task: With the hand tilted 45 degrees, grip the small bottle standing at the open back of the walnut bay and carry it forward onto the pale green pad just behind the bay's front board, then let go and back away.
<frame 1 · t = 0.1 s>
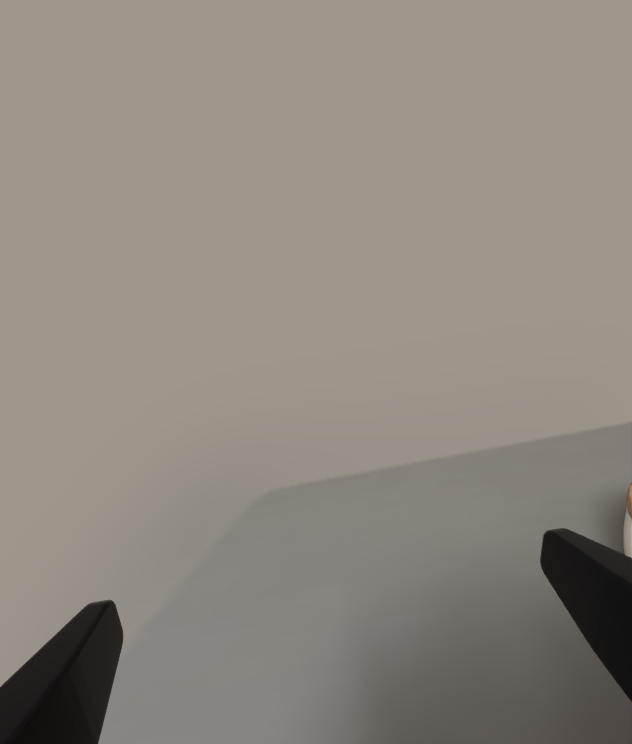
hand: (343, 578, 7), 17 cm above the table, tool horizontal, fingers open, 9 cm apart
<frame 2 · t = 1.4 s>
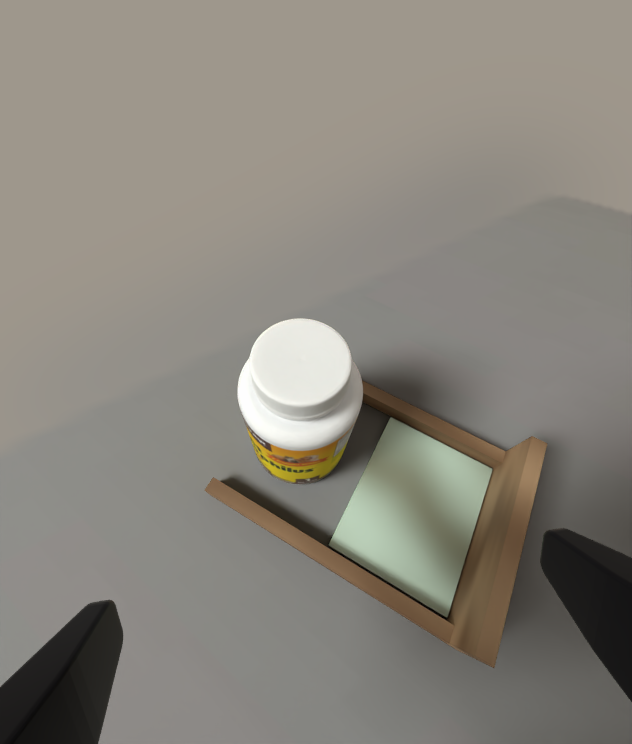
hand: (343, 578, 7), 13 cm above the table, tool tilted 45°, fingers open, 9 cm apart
supplement bottle: (300, 443, 23), on the table
bay: (364, 478, 22), on the table
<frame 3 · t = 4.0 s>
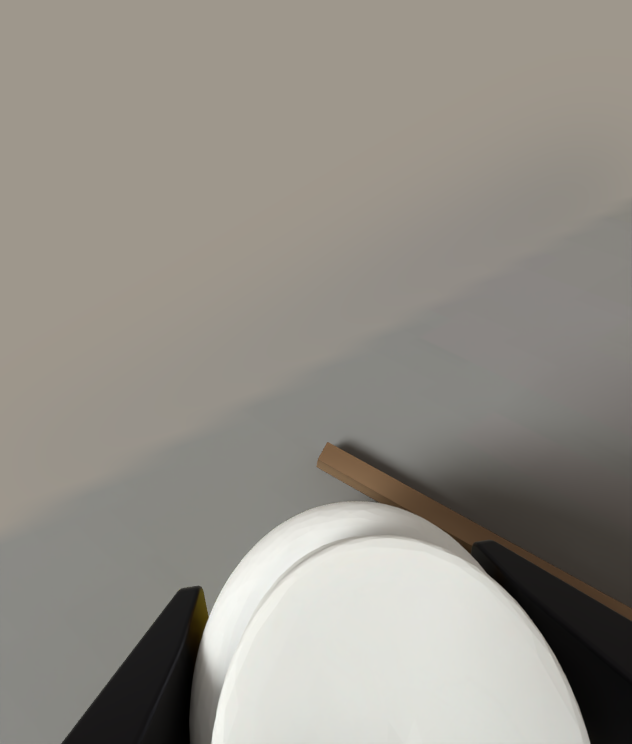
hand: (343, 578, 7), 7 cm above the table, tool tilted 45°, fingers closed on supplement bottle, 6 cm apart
supplement bottle: (328, 621, 13), on the table, touching gripper
bay: (452, 703, 12), on the table
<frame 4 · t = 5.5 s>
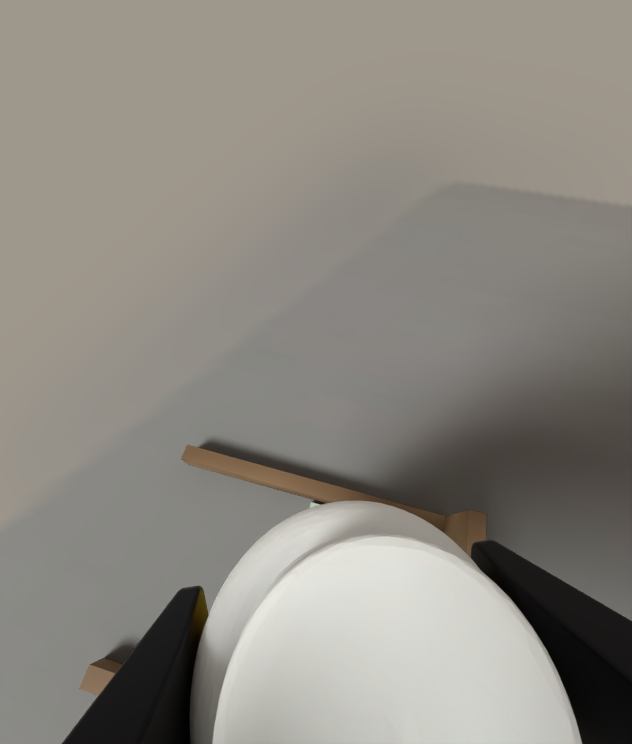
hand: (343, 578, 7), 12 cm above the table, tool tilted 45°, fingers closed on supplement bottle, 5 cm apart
supplement bottle: (325, 619, 13), point 5 cm above the table, touching gripper
bay: (292, 593, 18), on the table
when the fingers open (8 cm above the table, at t = 6.9 s): supplement bottle stays where it is, resting on bay.
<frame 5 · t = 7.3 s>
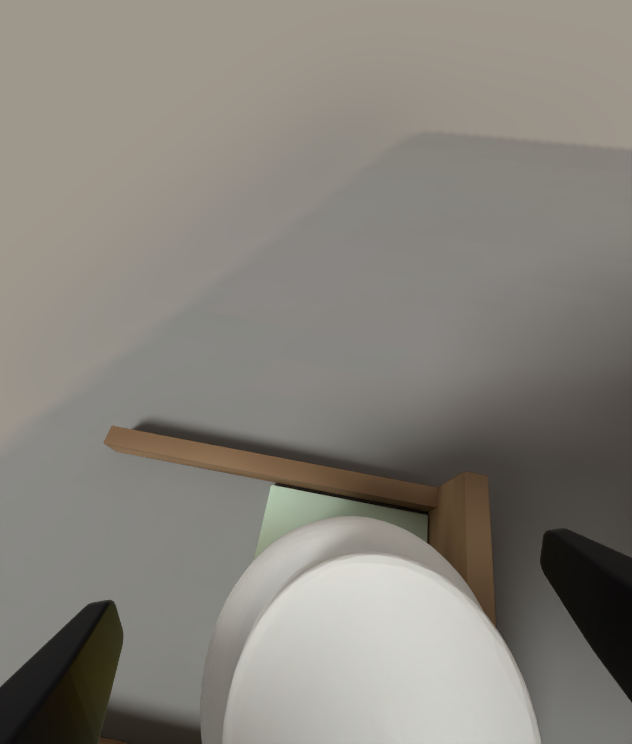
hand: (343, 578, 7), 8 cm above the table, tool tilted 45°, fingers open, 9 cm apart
supplement bottle: (326, 623, 13), resting on bay
bay: (250, 600, 14), on the table
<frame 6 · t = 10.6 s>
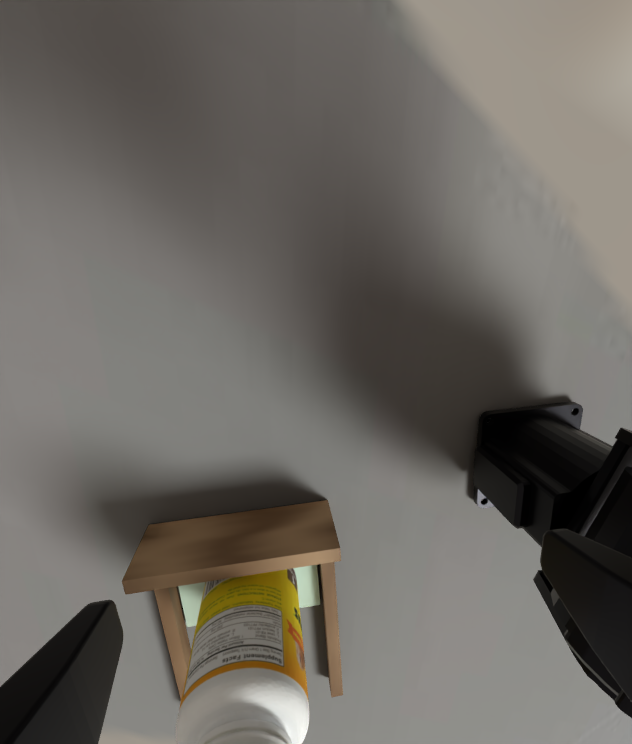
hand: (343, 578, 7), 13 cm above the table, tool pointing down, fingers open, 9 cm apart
supplement bottle: (252, 573, 23), resting on bay
bay: (254, 609, 24), on the table
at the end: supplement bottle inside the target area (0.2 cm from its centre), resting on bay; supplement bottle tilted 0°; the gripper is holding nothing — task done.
